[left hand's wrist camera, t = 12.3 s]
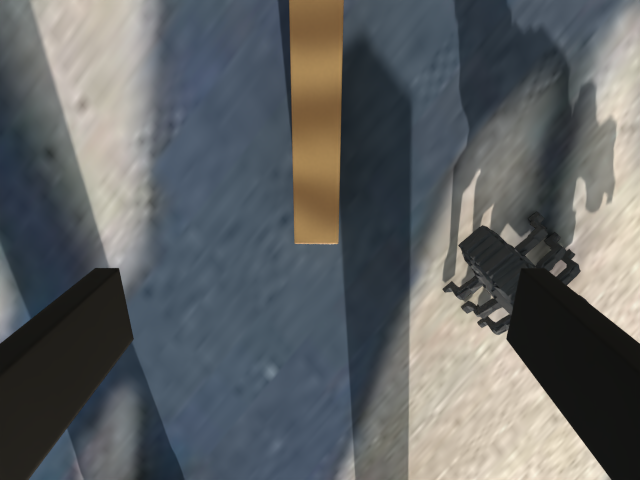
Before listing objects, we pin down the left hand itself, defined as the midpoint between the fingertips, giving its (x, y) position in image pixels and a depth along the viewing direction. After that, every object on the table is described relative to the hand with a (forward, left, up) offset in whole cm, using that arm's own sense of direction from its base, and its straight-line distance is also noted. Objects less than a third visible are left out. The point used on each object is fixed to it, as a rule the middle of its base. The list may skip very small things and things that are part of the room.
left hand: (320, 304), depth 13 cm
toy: (+1, -27, -30) cm, 40 cm away
